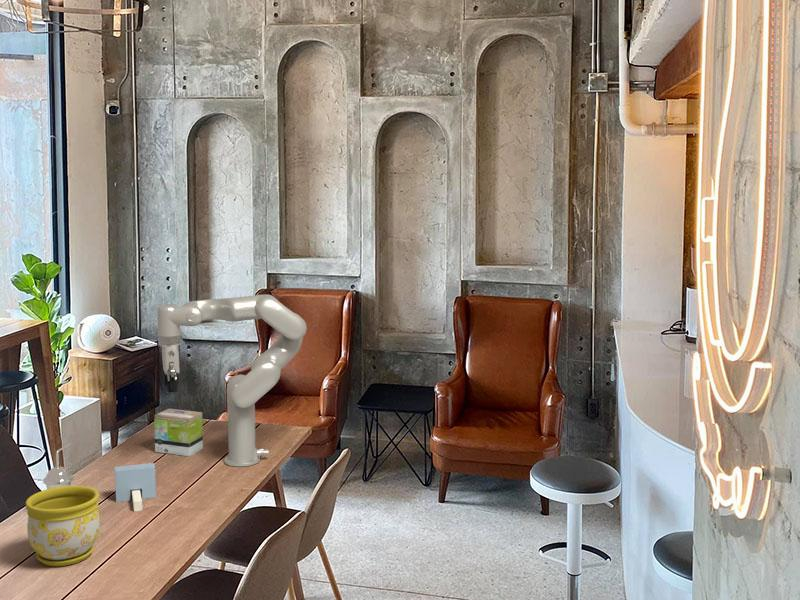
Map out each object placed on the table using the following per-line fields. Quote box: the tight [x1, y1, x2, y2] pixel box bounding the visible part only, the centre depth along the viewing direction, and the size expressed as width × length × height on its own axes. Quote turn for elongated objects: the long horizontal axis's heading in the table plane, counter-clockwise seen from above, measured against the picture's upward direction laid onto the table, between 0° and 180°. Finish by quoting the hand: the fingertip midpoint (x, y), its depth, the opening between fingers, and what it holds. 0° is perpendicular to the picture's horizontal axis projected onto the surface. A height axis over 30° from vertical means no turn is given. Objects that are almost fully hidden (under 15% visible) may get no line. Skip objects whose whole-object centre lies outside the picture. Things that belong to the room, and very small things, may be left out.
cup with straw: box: [43, 442, 74, 490], centre depth 249 cm, size 8×9×20 cm
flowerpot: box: [25, 485, 101, 567], centre depth 218 cm, size 18×18×16 cm
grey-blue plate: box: [114, 462, 157, 503], centre depth 261 cm, size 12×4×10 cm, turn 111°
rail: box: [130, 489, 143, 512], centre depth 261 cm, size 2×24×3 cm, turn 21°
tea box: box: [153, 408, 204, 458], centre depth 308 cm, size 15×10×15 cm, turn 73°
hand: (170, 388), depth 287 cm, fingers open, 9 cm apart
